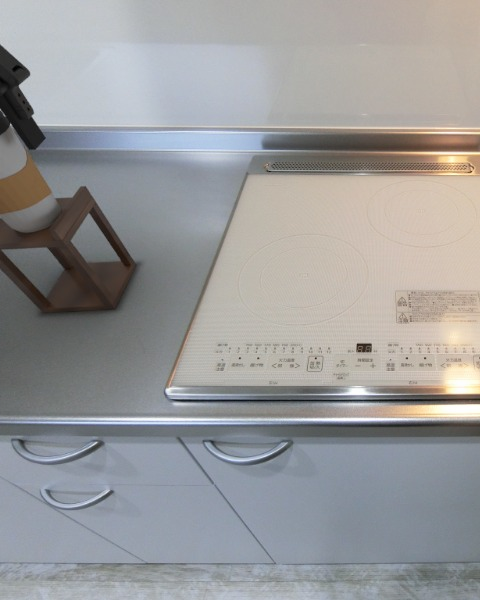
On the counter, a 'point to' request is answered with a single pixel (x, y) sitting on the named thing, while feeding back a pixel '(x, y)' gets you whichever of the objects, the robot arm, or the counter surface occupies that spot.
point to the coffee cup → (23, 186)
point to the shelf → (71, 260)
